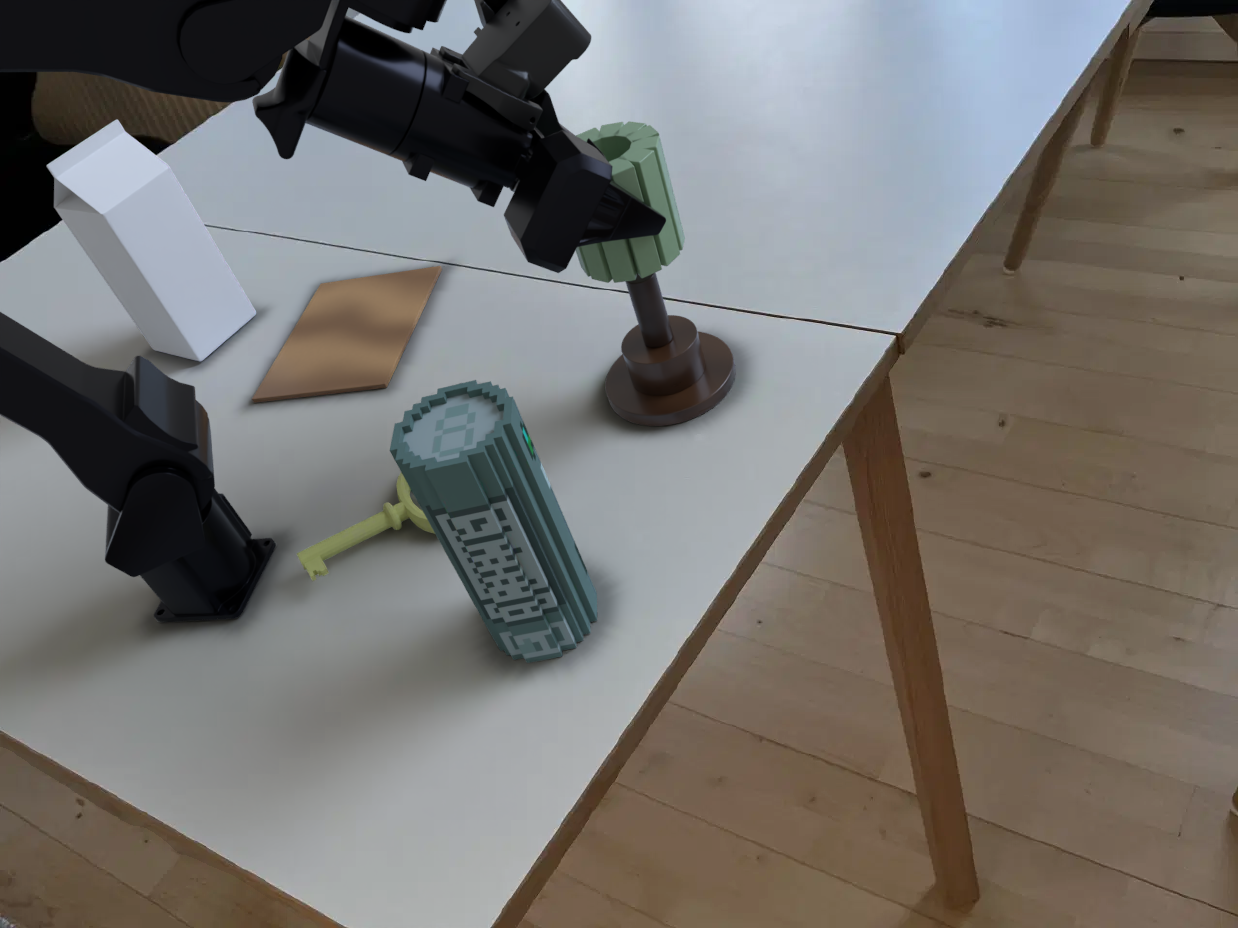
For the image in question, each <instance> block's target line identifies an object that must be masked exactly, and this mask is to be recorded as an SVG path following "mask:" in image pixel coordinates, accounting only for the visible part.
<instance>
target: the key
mask: <svg viewBox="0 0 1238 928" xmlns="http://www.w3.org/2000/svg"><path fill="white" fill-rule="evenodd" d="M395 485H396V486H395V487H396V493H397V499H398V502H397V503H395V504H394V505H392V503H390V502H388V501H387V502H384V503H383V505H382V511H380V512H378V513H377V512H376V514H374V515H371V516H370V517H369V516H368V517H367V518H365V519H364V520H361V521H359V522H357V523H355V524H353V525H351V526H349V527H347V528H345V529H343V530H342V531H339V532H337V533H334V534H333V535H331V536H329V537H327V538H324V539H323V540H321V541H319V542H317V543H315V544H313V545H310V546H308V547H307V548H305V549H303V550H301V551H298V552H296V556H297V558H298V560H299V561H300V563H301V565H302V568H303V569H304V570H305V571H307V573H308V575H309V577H310V579H311V581H312V582H315V581H316V580H317V577H316V576H319V577H321V576H322V577H325V576H327V575H328V574H330V571H329V569H328V568H327V566H326V564H325V561H326V560H328V559H331V558H332V557H334V556H336V555H338V554H340V553H343V552H345V551H346V550H348V549H350V548H352V547H354V546H357V545H359V544H361V543H362V542H364V541H366V540H368V539H370V538H372V537H375V536H377V535H378V534H380V533H383V532H384V531H386V530H389V529H390V528H392V529H393V530H395V531H400V530H401V529H402V522H404V521H407V520H409V519H410V520H411V522H412V523H413V524H414V525H415V526H416V527H418V528H419V529H421V530H423V531H425V532H426V533H431V534H434V535H436V534H435V532H434V531H433V529H432V527H431V525H430V523H429V521H428V520H427V518H426V516H425V514H424V512H423V511H422V509H421V508H419V507H418V506H417V505H416V504H415V503H414V502H413V500H412V497H411V492H412V491H411V489H410V487H409V485H408V483H407V482H406V480H405V478H404V476H403V474H402V473H401V472H400V473H399V475H398V476H397V480H396V484H395Z"/></svg>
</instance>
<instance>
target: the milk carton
mask: <svg viewBox="0 0 1238 928" xmlns="http://www.w3.org/2000/svg"><path fill="white" fill-rule="evenodd" d="M46 168H47V170H48V171H49V172H50V174H51V175H52V177H53V182H54V183H53V185H54V186H53V189H54V190H53V208H54V209H55V211H56V212H57V214H58V215H59V217H60V218H61V220H62V221H63V223H64V224H65V226H66V227H67V229H69V231H70V232H71V234H72V236H73V237H74V238H75V240H76V241H77V243H78V244H79V246H80V247H81V248H82V250H83V251H84V253H85V254H86V256H88V259H89V260H90V261H91V263H92V264H93V265H94V267H95V268H96V270H97V272H98V273H99V274H100V276H101V277H102V278H103V280H104V281H105V283H106V284H107V286H108V287H109V288H110V290H111V292H112V293H113V295H114V296H115V297H116V299H117V300H118V302H119V303H120V304H121V306H122V307H123V309H124V310H125V312H126V313H127V314H128V316H129V317H130V319H131V320H132V322H133V323H134V325H135V326H136V328H137V329H138V331H140V333H141V335H142V336H143V337H144V339H145V340H146V343H148V345H149V346H150V348H151V349H152V350H153V351H155V352H159V353H160V352H161V353H164V354H168V355H172V356H177V357H180V358H183V359H188V360H192V361H196V362H203V361H204V360H205V359H206V358H208V356H210V355H211V354H212V353H214V351H215V350H217V349H218V348H219V347H220V346H222V344H224V343H225V342H226V341H227V340H228V339H230V338H231V337H232V336H234V334H235V333H237V331H239V330H240V329H241V328H242V327H243V326H245V325H246V324H247V323H248V322H249V321H250V320H251V319H252V318H254V317H255V316H256V315H257V311H256V309H255V306H253V304H252V302H251V300H250V299H249V297H248V296H247V294H246V292H245V291H244V288H243V287H242V285H241V284H240V282H239V280H238V279H237V277H236V276H235V274H234V272H233V270H232V269H231V267H230V265H229V264H228V262H227V261H226V258H225V256H224V255H223V254H222V252H221V250H220V249H219V247H218V245H217V244H216V242H215V240H214V239H213V237H212V235H211V233H210V232H209V230H208V229H207V227H206V225H205V224H204V222H203V220H202V218H201V217H200V215H199V214H198V212H197V210H196V209H195V206H194V205H193V203H192V202H191V200H190V198H189V196H188V195H187V194H186V191H185V190H184V189H183V187H182V185H181V183H180V182H179V180H178V178H177V177H176V175H175V173H174V171H173V170H172V168H171V167H170V165H169V164H168V163H167V162H165V161H164V160H163V159H161V158H160V157H159V156H157V155H156V154H155V153H154V152H152V151H151V150H150V149H148V148H147V147H146V146H145V145H144V144H142V143H141V142H139V141H138V140H137V139H136V138H135V137H133V136H132V135H131V134H129V133H128V132H127V131H126V130H125V128H124V127H123V125H122V124H121V122H120V121H119V119H115V120H113V121H111V122H110V123H108V124H107V125H105V126H104V127H103V128H100V129H99V130H98V131H96V132H95V133H93V134H92V135H90V136H89V137H87V138H86V139H84V140H83V141H81V142H79V143H78V144H76V145H75V146H74V147H72V148H70V149H69V150H67V151H66V152H64V153H62V154H61V155H60V156H58V157H57V158H55V159H53V160H52V161H50V162H49V163H48V164H46Z"/></svg>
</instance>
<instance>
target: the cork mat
mask: <svg viewBox="0 0 1238 928" xmlns="http://www.w3.org/2000/svg"><path fill="white" fill-rule="evenodd" d="M442 271H443V268H442V265H437V266H429V267H423V268H417V269H416V268H415V269H409V270H403V271H395V272H391V273H390V272H389V273H383V274H382V273H381V274H377V275H368V276H363V277H356V278H349V279H342V280H335V281H328V282H323V283H320V284H319V286H318V287H317V289H316V291H315V292H314V294H313V296H312V297H311V300H309V302H308V304H307V306H306V308H305V309H304V311H303V312H302V314H301V315H300V318H299V319H298V321H297V323H296V324H295V326H294V328H293V329H292V331H291V332H290V334H289V335H288V338H287V339H286V341H285V343H284V344H283V345H282V347H281V349H280V351H279V352H278V355H277V356H276V357H275V360H274V361H273V362H272V364H271V366H270V367H269V370H268V371H267V373H266V374H265V376H264V377H263V379H262V381H261V383H260V385H259V386H258V388H257V389H256V390H255V393H254V394H253V396H252V398H251V401H252V403H256V404H257V403H264V402H265V403H266V402H272V401H273V402H274V401H281V400H282V401H283V400H291V399H300V398H308V397H317V396H326V395H334V394H342V393H351V392H359V391H361V392H362V391H368V390H369V391H371V390H379V389H386V388H388V386H389V385H390V382H391V380H392V378H393V375H394V373H395V371H396V369H397V368H398V364H399V363H400V360H401V358H402V356H403V354H404V352H405V350H406V349H407V345H408V343H409V341H410V339H411V337H412V335H413V334H414V330H415V329H416V326H417V324H418V322H419V320H420V318H421V316H422V313H423V311H424V309H425V307H426V305H427V303H428V301H429V298H430V297H431V293H433V290H434V289H435V286H436V283H437V281H438V280H439V278H440V275H441V274H442Z"/></svg>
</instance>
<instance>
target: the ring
mask: <svg viewBox="0 0 1238 928" xmlns="http://www.w3.org/2000/svg"><path fill="white" fill-rule="evenodd" d="M575 136H576V137H579V138H580V139H582V140H584V141H585V142H587V140H588V138H589V139H590V140H591V141H592V142H593V143H594V144H595V145H596V146H597V147H598V148H599V149H600V151H601V152H602V153H603V154H604V155H605V157H606V160H607V161H608V162H609V163H610V164H611V165H612V166H613V167H612V177H611V180H612V181H614V182H615V183H617V184H618V185H620V186H621V187H623V188H624V189H625V190H627V191H628V192H630V193H631V194H633V195H634V196H636V197H637V198H639V199H640V200H642V201H643V202H645V203H646V204H648V205H649V206H651V207H652V208H653V209H655V210H656V211H658V212H659V213H661V214H662V215H663V216H664V217H665V218H666V223H665V225H664V227H663V228H662V230H661V232H660V233H659V234H658V235H654V236H646V237H638V238H630V239H623V240H615V241H608V242H601V243H595V244H590V245H586V246H581V247H577V248H576V250H575V254H576V256H577V259H578V263H579V265H580V268H581V270H582V271H583V272H584V273H585V275H586V276H587V277H589V278H591V280H595V281H598V282H603V283H606V284H609V283H610V282H611V281H613V284H614V283H615V284H618V283H626V282H625V281H633V280H636V276H637V273H638V275H639V276H640V277H641V278H644V277H646V276H649V275H651V274H653V273H655V272H656V273H658V272H661V271H662V270H663V266H664V267H668V266H669V265H670V264H672V262H674V261H675V260H676V259H677V258H678V257H679V256H680V255H681V251H683V249H684V243H685V240H686V236H685V232H684V229H683V225H682V220H681V216H680V212H679V208H678V204H677V200H676V196H675V193H674V188H673V183H672V180H671V176H670V173H669V168H668V164H667V160H666V156H665V152H664V148H663V144H662V140H661V137H660V132H659V131H658V130H657V129H655V128H654V127H653V126H652V125H651V124H648V125H647V123H645V122H637V121H630V120H629V121H628V122H626V123H624V121H619V122H614V123H608V124H607V123H606V124H602V125H601V126H600V128H599V129H598V128H597V127H593V128H590V129H588V130H585V131H583V132H581V133H578V134H576V135H575Z"/></svg>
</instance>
